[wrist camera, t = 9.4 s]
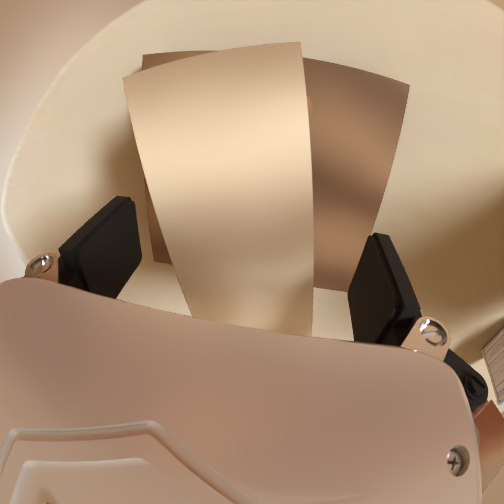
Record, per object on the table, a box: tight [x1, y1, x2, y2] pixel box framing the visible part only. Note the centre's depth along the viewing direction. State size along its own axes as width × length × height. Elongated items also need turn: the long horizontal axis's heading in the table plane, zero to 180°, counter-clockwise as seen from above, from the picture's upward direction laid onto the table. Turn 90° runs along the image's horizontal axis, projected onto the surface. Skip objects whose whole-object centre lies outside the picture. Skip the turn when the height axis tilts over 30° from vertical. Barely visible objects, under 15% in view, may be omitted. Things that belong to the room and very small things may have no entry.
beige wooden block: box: [122, 42, 314, 337], centre depth 11 cm, size 12×5×4 cm, turn 7°
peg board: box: [142, 51, 410, 292], centre depth 15 cm, size 14×14×5 cm
